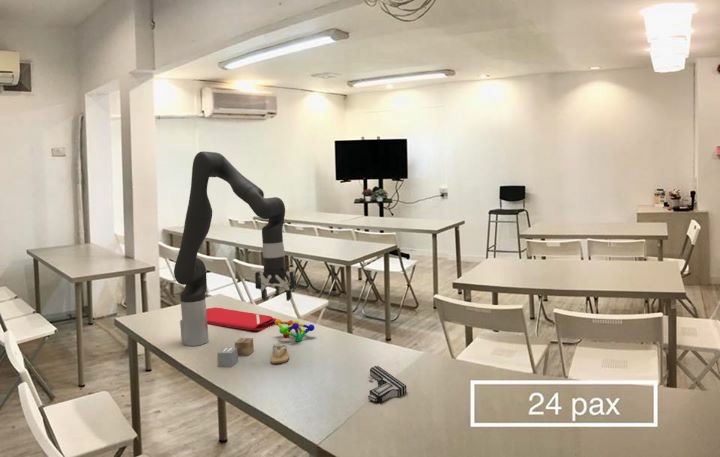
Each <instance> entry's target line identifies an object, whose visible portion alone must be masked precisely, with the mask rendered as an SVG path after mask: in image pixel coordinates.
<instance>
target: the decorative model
mask: <svg viewBox="0 0 720 457" xmlns="http://www.w3.org/2000/svg"><path fill="white" fill-rule="evenodd" d="M275 324H276V325H275V326H278V327H279V333H280V334H281V335H282V336H283V338H289V337H293V338H294V339H295V341H296V342H300V341H302V337H304V336H305V335H307V333H309V332H313V331H314V330H315V325H314V324H309V325H307V324H304V323H300V322H299V320H295V319H294V320H292V319H290V320H288V321H282V319H280V318H276V320H275ZM283 325H287V326H286V327H284V326H283ZM301 327H302V328H301ZM304 328H305V329H304ZM292 330H294V332H295V333H292Z"/></svg>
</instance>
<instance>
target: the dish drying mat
mask: <svg viewBox="0 0 720 457" xmlns="http://www.w3.org/2000/svg"><path fill="white" fill-rule="evenodd" d="M206 313H207V325H215V326H219V327H227V328H232V329H233V328H235V329H240V330H248V331H256V332H257V331H258V332H261V331H265V330H266V328H267V329H269V328H271V327H274V326H276V325H275V320H276V319H277V318H275V317H273V316H270V315H265V314H259V313H253V312H247V311H239V310H233V309H228V308H224V307H223V308H222V307H209V308H206ZM270 326H271V327H270ZM268 327H269V328H268Z"/></svg>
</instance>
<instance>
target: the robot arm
mask: <svg viewBox="0 0 720 457" xmlns="http://www.w3.org/2000/svg"><path fill="white" fill-rule="evenodd" d="M192 161H193V162H192V170H191V180H190V181H191V182H190V190H189V191H190V192H189V197H188V203H187V204H188V205H187V209H186V214H185V220H184V227H183V232H182V236H181V241H180V242H181V243H180V245H179V251H178V254H177V257H176V261H175V263H174V267H173V268H174V269H173V276H174V278H175V281H176V282H177V283H178V284H180V285H182V286H184V288H183V290H182V291H181V293H180V294H179V295H180V296H179V298H180V299H179V300H180V309H181V310H180V311H181V319H180V320H179V325H180V338H181V345H185V346H187V347H197V346H201V345H205V344H207V343H208V342H209V328H208V323H207V313H206V309H207V303H206V293H207V288H208V286H207V285H208V284H207V280H208V278H207V269H206V265H205V263H204V261H203V260H202V259H201V258H199V257H197V256H198V253H199V250H200V248H201V245H202V244H203V242H204V241H205V239H206V237H207V236H208V233H209V232H210V227H211V224H212V218H213V208H212V204H211V202H210V199H209V196H208V185H209V179H210V178H219V179H221V180H223V181H225V182H226V183H228V184H229V186H230V187H231V189H232V192H233V193H234V194H235V195H236V196H237V197H238V198H239V199H241V200H242V201H243V202H244V203H246V204H247V205H248V206H249V208H250V209H251V210H252V212H253V213H254V214H255V215H256V216H257V217H258V218H260V219H263V220H268V222H267V224H266V225H264V226H263V227H262V228H261V236H262V237H261V238H262V240H261V241H262V249H261V250H262V261H263V262H262V265H263V271H261V270H258V271H256V272H255V274H254V277H255V278H254V279H255V282H254V283H255V289H257V290H260V291H261V292H260V293H261V299H262V300H263V301H264V302H266V301H267V300H268V292H267V287H268V286H269V285H270V284H271V285H274V284H277V285H279V284H281V285H282V286H283V287H284V288H285V289H286V290H285V295H286V297H285V298H286V302H287V301H288V302H289V301H290V300H291V299H292V296H293V295H292V290H293V289H295V288H296V287H297V280H296V271H295V270H290V271H288V270H287V269H286V259H285V256H286V254H285V247H284V246H285V245H284V238H283V236H284V235H283V228H284V222H285V218H286V217H285V216H286V215H285V214H286V206H285V203H284V201H283V200H282V199H281V198H280V197H278V196H277V197H267V198H266V197H265V192H264V191H263V190H262V189H261V187H259V186H258V185H256V184H255V183H253V182H252V181H251V180H249V179H248V178H247V177H245V176H244V175H243V174H242V173H241V172H240V171H239V170H238V169H237V168H236V167H235V166H234V165H232V163H231V162H230V161H229V159H227V158H226V157H225V156H224V155H223V154H221V153H219V152H213V151H199V152H198V153H196V155H195V156H194V158H193V160H192ZM287 276H288V278H289V279H290V280H288V279H287V278H286V277H287ZM263 277H264V278H265V280H264V282H263V284H262V278H263ZM289 281H290V283H289Z"/></svg>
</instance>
